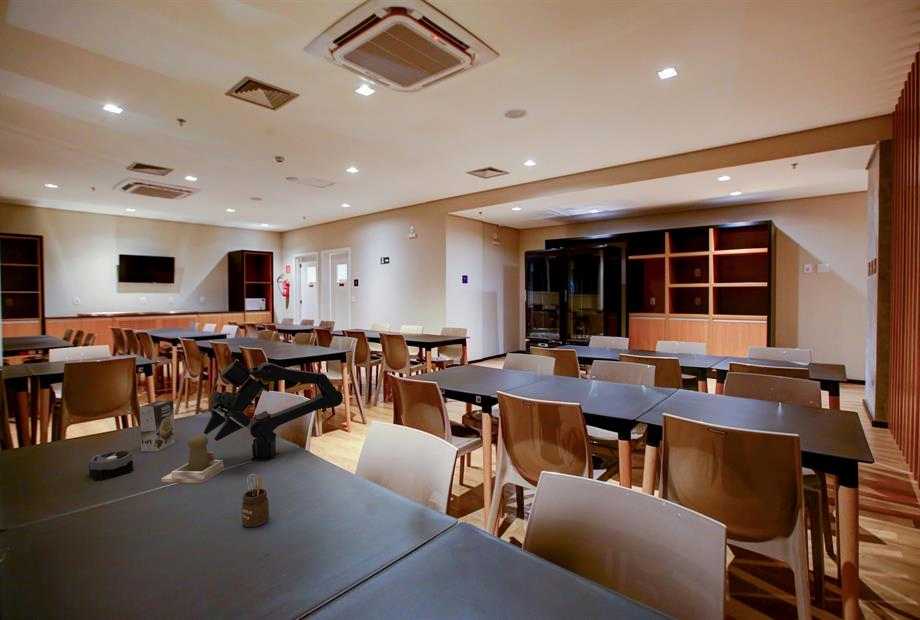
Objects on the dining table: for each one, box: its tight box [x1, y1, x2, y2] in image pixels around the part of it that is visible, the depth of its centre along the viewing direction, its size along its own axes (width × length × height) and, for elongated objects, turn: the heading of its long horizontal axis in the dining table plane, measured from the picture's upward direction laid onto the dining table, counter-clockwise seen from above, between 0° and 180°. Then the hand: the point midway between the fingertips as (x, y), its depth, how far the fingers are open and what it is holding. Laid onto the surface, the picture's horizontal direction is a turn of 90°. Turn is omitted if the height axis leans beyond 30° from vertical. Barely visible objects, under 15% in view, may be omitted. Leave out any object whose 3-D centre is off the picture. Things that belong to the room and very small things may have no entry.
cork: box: [187, 434, 210, 472], centre depth 133 cm, size 6×6×11 cm
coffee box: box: [139, 399, 176, 452], centre depth 158 cm, size 9×6×16 cm
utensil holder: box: [241, 473, 270, 528], centre depth 105 cm, size 6×6×12 cm
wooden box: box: [160, 451, 225, 484], centre depth 133 cm, size 13×10×6 cm
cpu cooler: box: [88, 450, 134, 482], centre depth 135 cm, size 10×6×10 cm
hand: (209, 436), depth 135 cm, fingers open, 9 cm apart
